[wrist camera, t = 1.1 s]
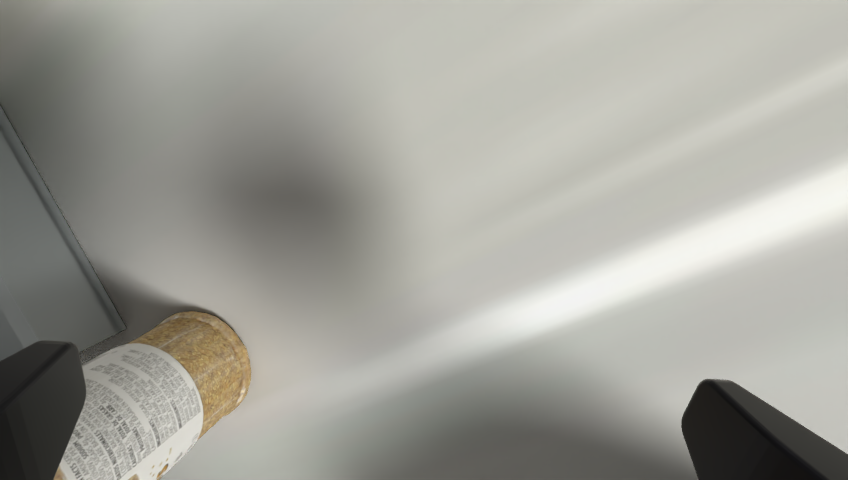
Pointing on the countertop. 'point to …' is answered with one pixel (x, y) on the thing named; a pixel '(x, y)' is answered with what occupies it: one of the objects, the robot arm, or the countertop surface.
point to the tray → (43, 264)
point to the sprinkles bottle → (155, 399)
